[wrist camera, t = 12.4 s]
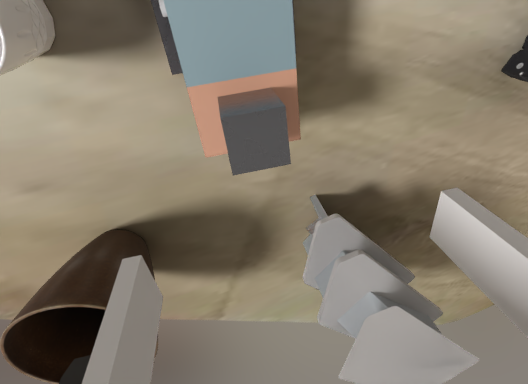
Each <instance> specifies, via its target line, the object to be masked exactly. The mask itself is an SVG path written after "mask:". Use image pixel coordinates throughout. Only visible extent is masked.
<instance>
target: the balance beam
mask: <svg viewBox="0 0 528 384" xmlns="http://www.w3.org/2000/svg"><path fill="white" fill-rule="evenodd" d="M159 5H160V9H161V12H162V15H163V17H168V19H169V23H170V27H171V30H172V34H173V38H174V42H175V45H176V49H177V53H178V56H179V60H180V64H181V68H182V71H183V75H184V79H185V82H186V86H187V90H188V94H189V97H190V101H191V105H192V108H193V112H194V116H195V120H196V123H197V127H198V131H199V134H200V138H201V142H202V146H203V149H204V153H205V157H211V156H216V155H222V154H227V153H228V151H227V146H226V142H225V137H224V132H223V128H222V123H221V119H220V112H219V105H218V97H220V96H225V95H231V94H237V93H242V92H248V91H253V90H259V89H265V88H270V87H271V88H272V90H273V91H274V92H275V93H276V95H277V96H278V97H279V98H280V100H281V101H282V102H283V103H284V105H285V106H286V116H287V128H288V139H289V141H294V140H300V139H301V137H300V121H299V104H298V88H297V71H296V55H295V39H294V22H293V6H292V0H159Z"/></svg>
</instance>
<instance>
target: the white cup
mask: <svg viewBox="0 0 528 384" xmlns="http://www.w3.org/2000/svg"><path fill="white" fill-rule="evenodd" d="M54 38H55V29H54V22H53V18H52V16H51V14H50V12H49V10H48V9H47V7H46V5H45V3H44V2H43V0H0V75H2V74H5V73H7V72H9V71H12V70H14V69H16V68H18V67H20V66H22V65H24V64H26V63H28V62H30V61H32V60H34V59H35V58H37V57H39V56H40V55H42V54H43V53H45V52H47V51H48V50H50V48H51V45H52V43H53V40H54Z"/></svg>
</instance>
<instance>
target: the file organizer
mask: <svg viewBox="0 0 528 384" xmlns="http://www.w3.org/2000/svg"><path fill="white" fill-rule="evenodd" d="M310 199H311V201H312V203H313V206H314V208H315V210H316V213H317V215H318V217H319V218H318V219H317V220H315V221H314V222H313V223H312V224H310V225H309V226H308V227H307V228H306V229H307V230H308V231H309V233H310V235H309V236H308V237H307V238H306V239H305V241H304V242H303V245H304V247H305V250H306V252H307V254H308V258H307V262H306V266H305V270H304V274H303V280H304V283H305V284H307V285H309V286H312V287H314V288H316V289H318V290H320V292H321V295H322V297H323V301H322V304H321V307H320V310H319V313H318V316H317V319H318V322H319V324H320V325H323V326H325V327H327V328H330V329H333V330H335V331H338V332H340V333H343V334H345V335H348V336H350V337H353V338H356V340H355V342H354V344H353V346H352V348H351V351H350V353H349V355H348V357H347V359H346V362H345V364H344V366H343V368H342V370H341V372H340V375H339V379H342V380H346V381H350V382H353V383H357V384H444V383H445V382H447V381H448V380H450V379H451V378H453V377H454V376H456V375H458V374H459V373H461V372H462V371H464V370H466V369H467V368H468V367H470V366H472V365H474V364H475V363H477V362H478V361H479V359H478V358H477V357H475V356H474V355H472V354H471V353H469V352H468V351H466V350H465V349H463V348H461V347H460V346H458V345H457V344H455V343H454V342H452V341H451V340H449V339H447V338H446V337H444V336H443V335H442V334H441V332H440V331H439V329H438V328H437V327H436V325H435V324H434V323H433V321H435V320H436V319H438V318H439V317H440V316H441V315H442V314H443V312H442V311H441V309H440V308H439V307H438V306H436V305H435V304H434V303H432V302H431V301H430V300H428V299H427V298H426V297H424V296H423V295H421V294H420V293H419V292H417V291H416V290H415V289H413V288H412V287H411V286H409V285H408V283H409V282H411V281H412V280H413V279H414V278H415V276H414V275H413V273H412V272H411V271H410V270H408V269H407V268H406V267H405V266H403V265H402V264H401V263H400V262H398V261H397V260H396V259H395V258H393V257H392V256H391V255H389V254H388V253H387V252H386V251H384V250H383V249H382V248H381V247H380V246H379V245H377V244H376V243H374V242H373V241H372V240H371V239H369V238H368V237H367V236H366V235H364V234H363V233H362V232H361V231H359V230H358V229H357V228H356V227H354V226H353V225H352V224H351V223H349V222H348V221H347V220H345V219H344V218H343V217H342V216H340V215H339V214H332V215H330V216H328V215H327V214H326V212H325V210H324V209H323V207H322V205H321V203H320V202H319V200H318V198H317V197H316V195H313V196H311V197H310Z"/></svg>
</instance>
